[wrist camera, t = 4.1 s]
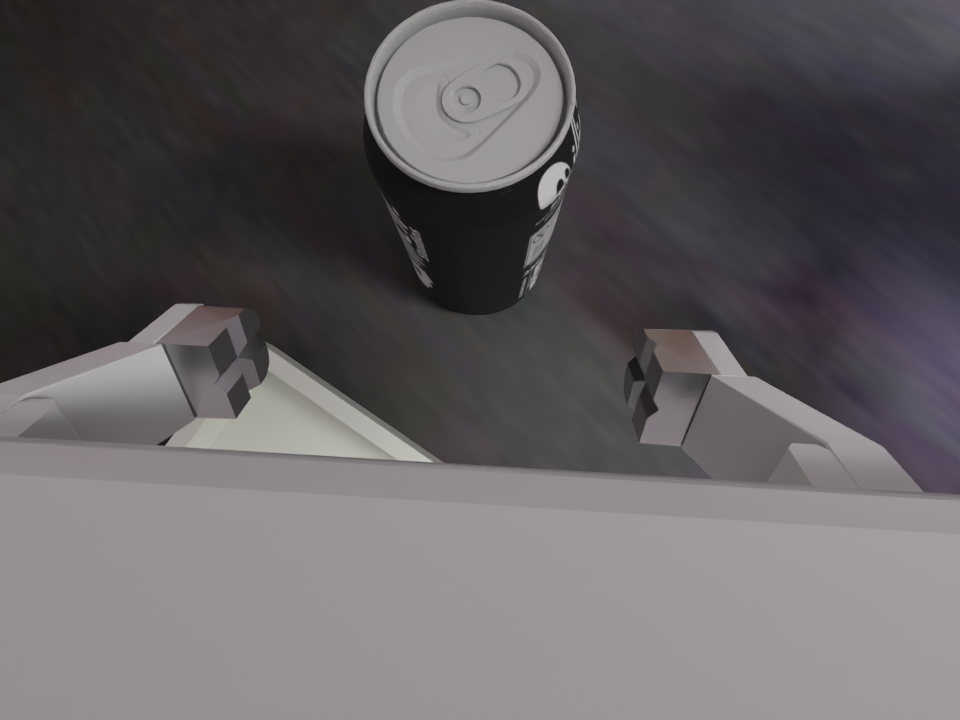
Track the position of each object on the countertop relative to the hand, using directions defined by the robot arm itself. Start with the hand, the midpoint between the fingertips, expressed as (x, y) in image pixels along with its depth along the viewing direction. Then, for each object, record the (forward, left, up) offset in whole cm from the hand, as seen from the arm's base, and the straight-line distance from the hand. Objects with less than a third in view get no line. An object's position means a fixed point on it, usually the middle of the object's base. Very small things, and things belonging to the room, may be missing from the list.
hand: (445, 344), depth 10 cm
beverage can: (-6, -4, -13) cm, 15 cm away
